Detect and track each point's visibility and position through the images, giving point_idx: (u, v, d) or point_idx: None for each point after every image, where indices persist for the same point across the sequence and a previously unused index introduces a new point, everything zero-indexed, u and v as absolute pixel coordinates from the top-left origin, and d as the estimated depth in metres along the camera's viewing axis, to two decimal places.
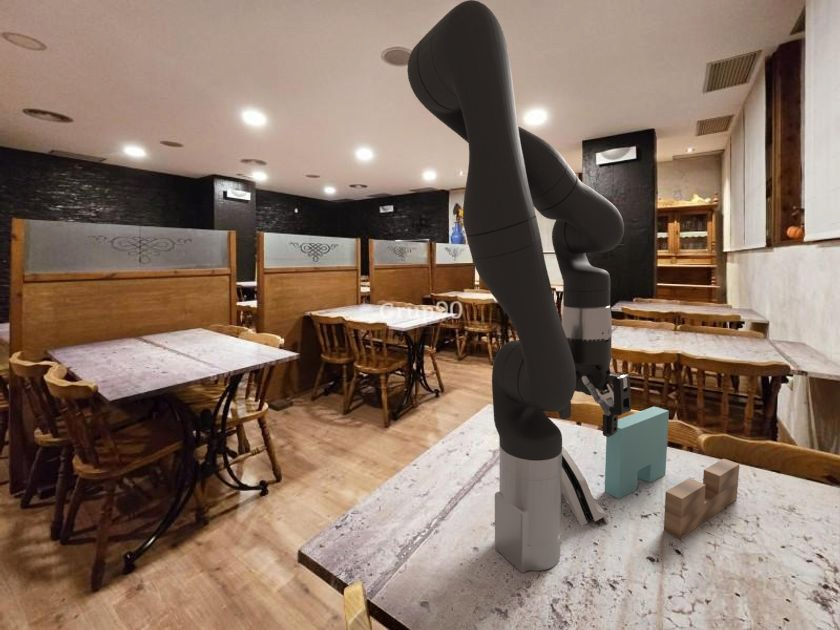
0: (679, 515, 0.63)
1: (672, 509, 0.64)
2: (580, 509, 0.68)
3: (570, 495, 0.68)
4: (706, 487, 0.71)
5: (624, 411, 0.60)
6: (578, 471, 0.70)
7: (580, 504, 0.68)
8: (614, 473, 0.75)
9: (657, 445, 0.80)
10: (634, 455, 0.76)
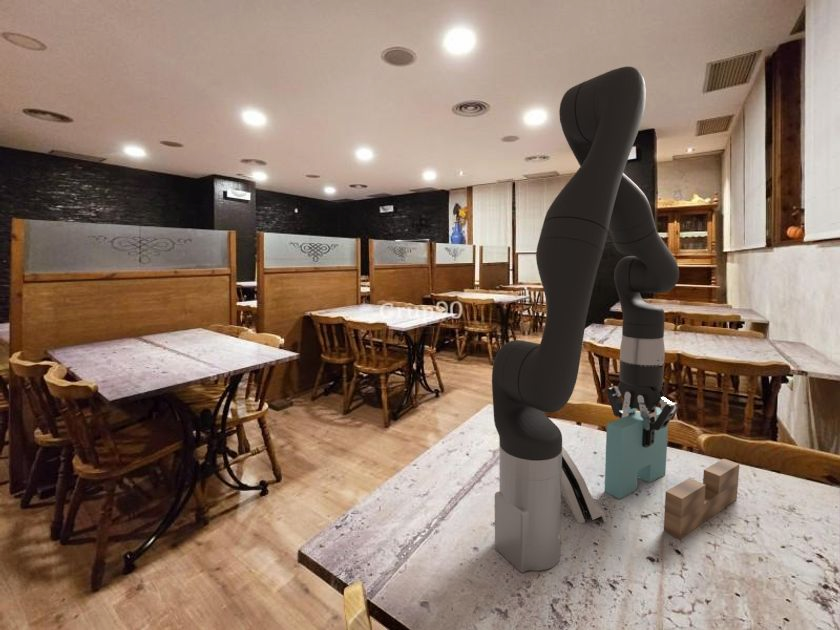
0: (679, 515, 0.63)
1: (672, 509, 0.64)
2: (578, 508, 0.68)
3: (568, 494, 0.68)
4: (706, 487, 0.71)
5: (661, 427, 0.74)
6: (576, 470, 0.70)
7: (578, 503, 0.68)
8: (614, 473, 0.75)
9: (657, 445, 0.80)
10: (634, 455, 0.76)
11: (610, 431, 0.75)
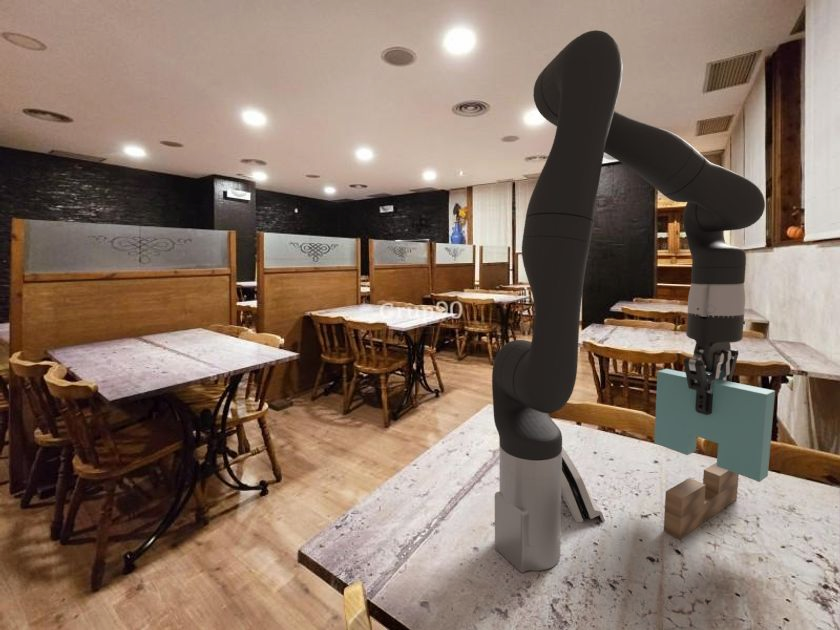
0: (679, 515, 0.63)
1: (672, 509, 0.64)
2: (576, 507, 0.68)
3: (566, 493, 0.69)
4: (706, 487, 0.71)
5: (693, 386, 0.65)
6: (575, 469, 0.70)
7: (576, 502, 0.68)
8: None
9: (735, 428, 0.63)
10: (680, 411, 0.70)
11: None
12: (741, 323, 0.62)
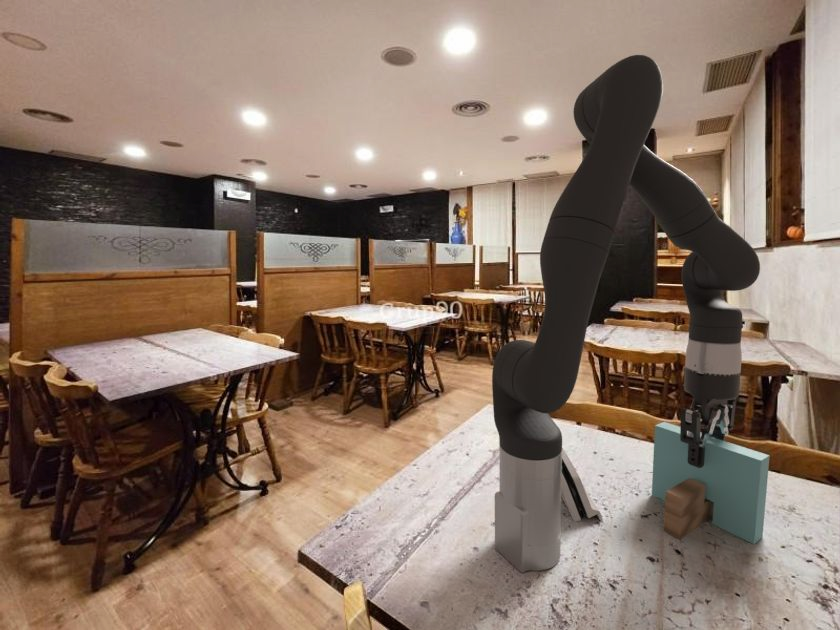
0: (679, 515, 0.63)
1: (672, 509, 0.64)
2: (574, 506, 0.69)
3: (564, 492, 0.69)
4: None
5: (685, 440, 0.65)
6: (573, 468, 0.71)
7: (574, 501, 0.69)
8: None
9: (730, 490, 0.64)
10: (677, 467, 0.71)
11: None
12: (737, 381, 0.63)
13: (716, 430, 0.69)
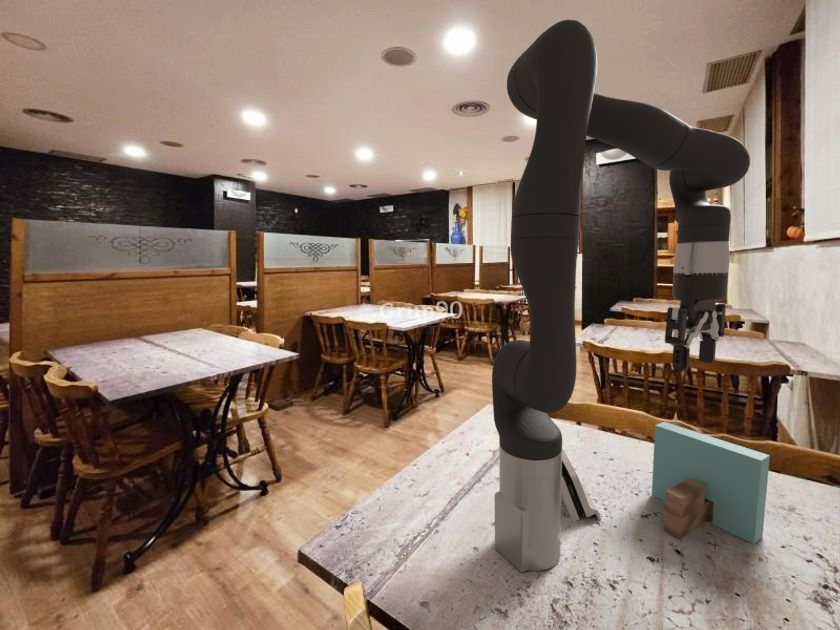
0: (679, 515, 0.63)
1: (672, 509, 0.64)
2: (572, 505, 0.69)
3: (562, 491, 0.69)
4: None
5: (669, 340, 0.64)
6: (571, 468, 0.71)
7: (572, 500, 0.69)
8: None
9: (730, 490, 0.64)
10: (677, 467, 0.71)
11: None
12: (725, 281, 0.62)
13: (707, 337, 0.69)
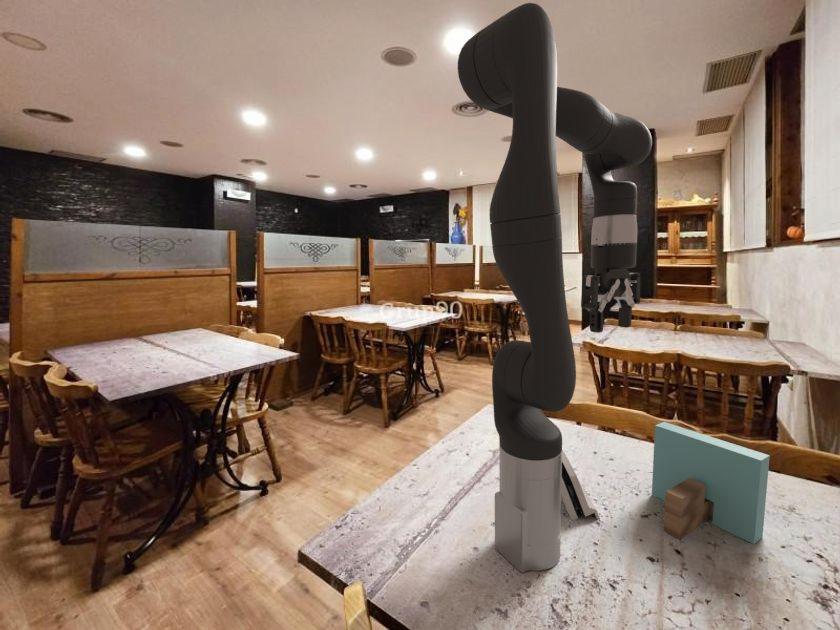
0: (679, 515, 0.63)
1: (672, 509, 0.64)
2: (571, 504, 0.69)
3: (561, 490, 0.69)
4: None
5: (585, 305, 0.70)
6: (570, 467, 0.71)
7: (571, 499, 0.69)
8: None
9: (730, 490, 0.64)
10: (677, 467, 0.71)
11: None
12: (632, 250, 0.69)
13: (624, 304, 0.76)
